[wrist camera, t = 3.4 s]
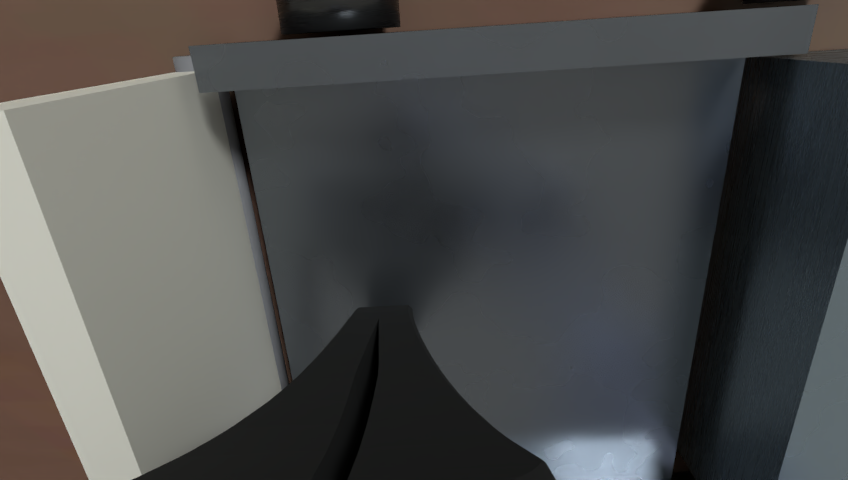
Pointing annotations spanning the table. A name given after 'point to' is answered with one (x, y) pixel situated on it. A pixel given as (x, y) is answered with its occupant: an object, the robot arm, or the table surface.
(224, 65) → the grey piece
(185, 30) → the table surface
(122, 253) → the panel
